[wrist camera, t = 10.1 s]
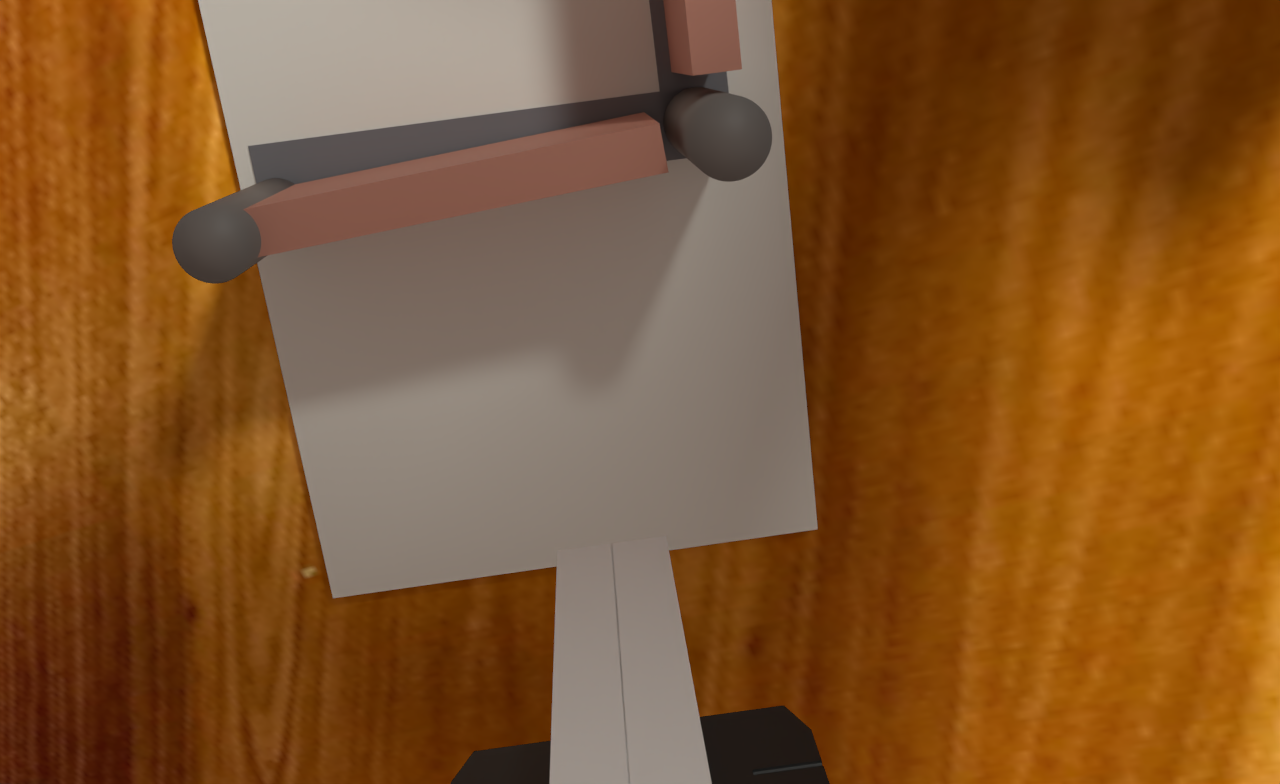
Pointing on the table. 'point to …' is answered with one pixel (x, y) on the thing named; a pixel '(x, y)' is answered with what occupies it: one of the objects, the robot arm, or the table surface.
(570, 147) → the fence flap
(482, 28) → the card
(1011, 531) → the table surface
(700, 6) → the fence fixed
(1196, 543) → the table surface
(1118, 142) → the table surface
